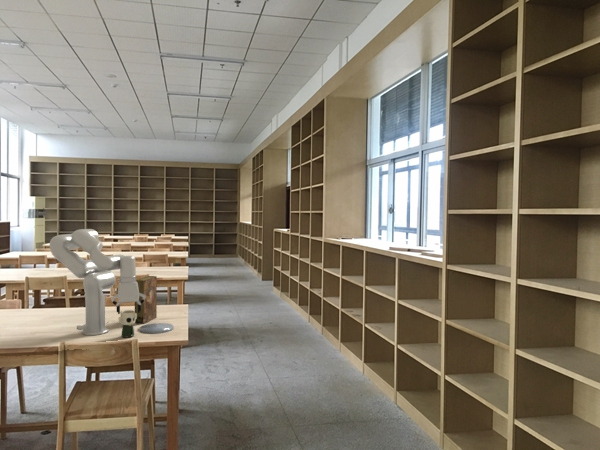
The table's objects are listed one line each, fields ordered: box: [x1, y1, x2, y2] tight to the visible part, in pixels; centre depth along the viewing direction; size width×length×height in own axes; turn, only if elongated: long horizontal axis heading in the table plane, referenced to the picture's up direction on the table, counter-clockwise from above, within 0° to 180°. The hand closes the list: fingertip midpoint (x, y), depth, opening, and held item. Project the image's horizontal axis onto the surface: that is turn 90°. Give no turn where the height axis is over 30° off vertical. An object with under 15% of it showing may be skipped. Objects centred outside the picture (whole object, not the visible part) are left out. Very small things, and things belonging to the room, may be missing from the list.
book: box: [134, 275, 158, 324], centre depth 278 cm, size 16×6×25 cm, turn 168°
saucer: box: [138, 322, 175, 334], centre depth 260 cm, size 18×18×1 cm
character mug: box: [118, 309, 137, 338], centre depth 244 cm, size 11×7×13 cm, turn 148°
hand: (128, 312), depth 244 cm, fingers open, 9 cm apart
